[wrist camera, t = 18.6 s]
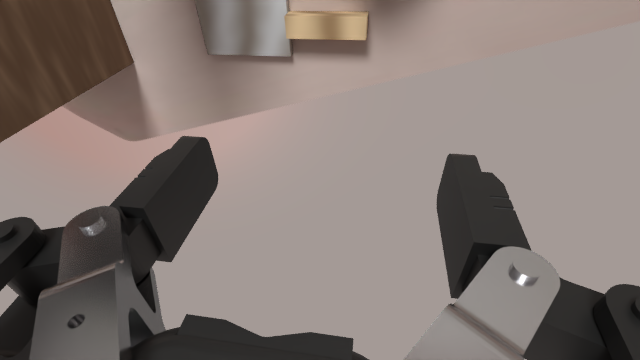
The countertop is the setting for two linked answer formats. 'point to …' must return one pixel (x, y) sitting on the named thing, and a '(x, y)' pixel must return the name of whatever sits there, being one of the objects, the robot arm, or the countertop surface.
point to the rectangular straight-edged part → (271, 26)
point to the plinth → (54, 55)
